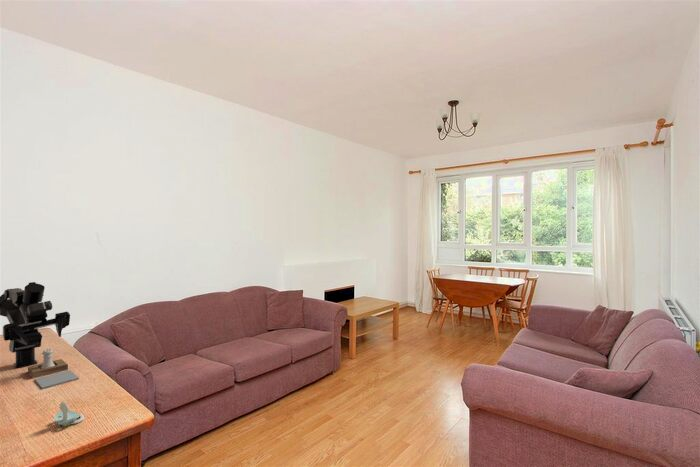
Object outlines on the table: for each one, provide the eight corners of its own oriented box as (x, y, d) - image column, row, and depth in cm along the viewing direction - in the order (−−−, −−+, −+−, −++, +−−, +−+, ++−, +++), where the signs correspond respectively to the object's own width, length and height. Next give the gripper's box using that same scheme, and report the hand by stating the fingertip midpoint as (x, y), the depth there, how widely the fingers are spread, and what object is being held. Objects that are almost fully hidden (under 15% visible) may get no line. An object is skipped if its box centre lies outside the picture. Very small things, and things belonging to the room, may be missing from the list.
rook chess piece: (46, 373, 130) (46, 352, 130) (37, 372, 131) (36, 351, 131) (58, 368, 134) (58, 348, 134) (49, 368, 135) (49, 347, 135)
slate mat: (34, 380, 124) (34, 378, 124) (70, 371, 131) (70, 370, 131) (42, 389, 116) (42, 387, 116) (79, 379, 124) (79, 377, 124)
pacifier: (79, 414, 99) (52, 422, 95) (79, 392, 100) (52, 399, 95) (88, 421, 95) (60, 431, 90) (88, 398, 95) (60, 407, 90)
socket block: (27, 371, 132) (27, 366, 132) (61, 363, 140) (61, 358, 140) (33, 378, 125) (33, 372, 125) (67, 369, 133) (67, 364, 133)
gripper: (-2, 303, 124) (9, 331, 116) (64, 291, 138) (77, 316, 131) (-1, 326, 128) (9, 355, 120) (62, 312, 143) (75, 337, 135)
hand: (44, 340), depth 127 cm, fingers open, 9 cm apart
